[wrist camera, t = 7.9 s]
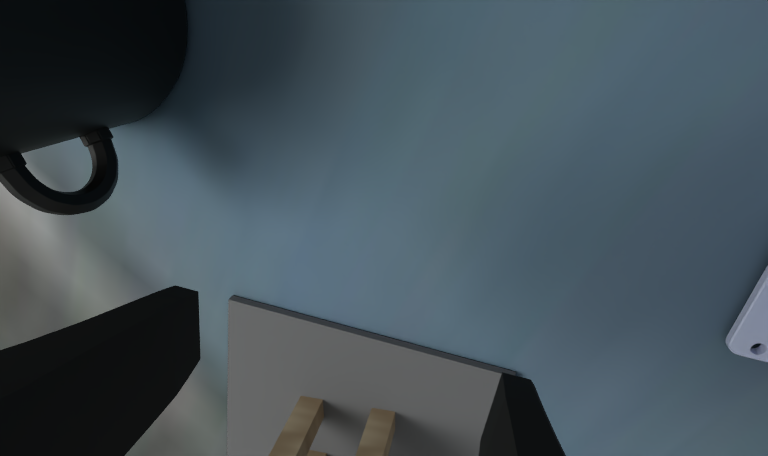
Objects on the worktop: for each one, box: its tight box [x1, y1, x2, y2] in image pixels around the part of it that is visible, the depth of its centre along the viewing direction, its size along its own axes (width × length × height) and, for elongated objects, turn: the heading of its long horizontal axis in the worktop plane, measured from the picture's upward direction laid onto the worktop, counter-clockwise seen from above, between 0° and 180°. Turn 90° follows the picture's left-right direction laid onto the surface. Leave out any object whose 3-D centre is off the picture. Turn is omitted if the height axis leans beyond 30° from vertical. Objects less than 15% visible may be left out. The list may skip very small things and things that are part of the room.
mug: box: [0, 0, 187, 215], centre depth 16 cm, size 9×12×9 cm
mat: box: [227, 296, 516, 456], centre depth 26 cm, size 14×14×1 cm
